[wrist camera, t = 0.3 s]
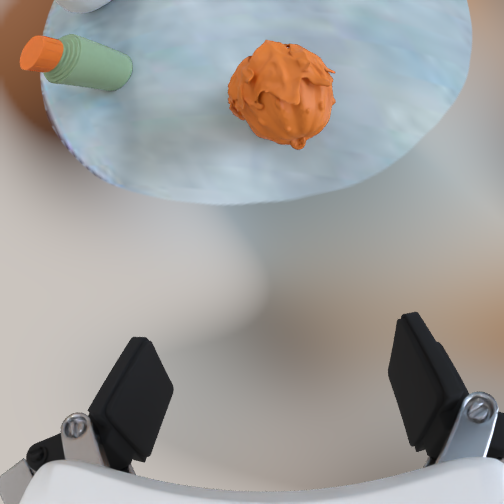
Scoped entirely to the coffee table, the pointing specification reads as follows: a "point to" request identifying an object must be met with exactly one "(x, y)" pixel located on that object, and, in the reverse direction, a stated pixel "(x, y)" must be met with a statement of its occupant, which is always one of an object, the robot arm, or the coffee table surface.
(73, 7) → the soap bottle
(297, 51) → the orange sculpture
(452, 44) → the coffee table surface
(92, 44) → the bottle
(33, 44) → the cap
